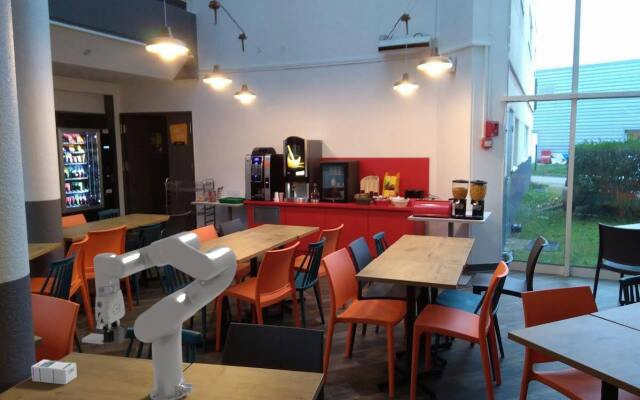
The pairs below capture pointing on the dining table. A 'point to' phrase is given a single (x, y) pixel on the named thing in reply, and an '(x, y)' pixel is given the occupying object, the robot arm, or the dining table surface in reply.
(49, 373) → the syrup box
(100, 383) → the dining table surface
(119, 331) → the two-tone stacked blocks
